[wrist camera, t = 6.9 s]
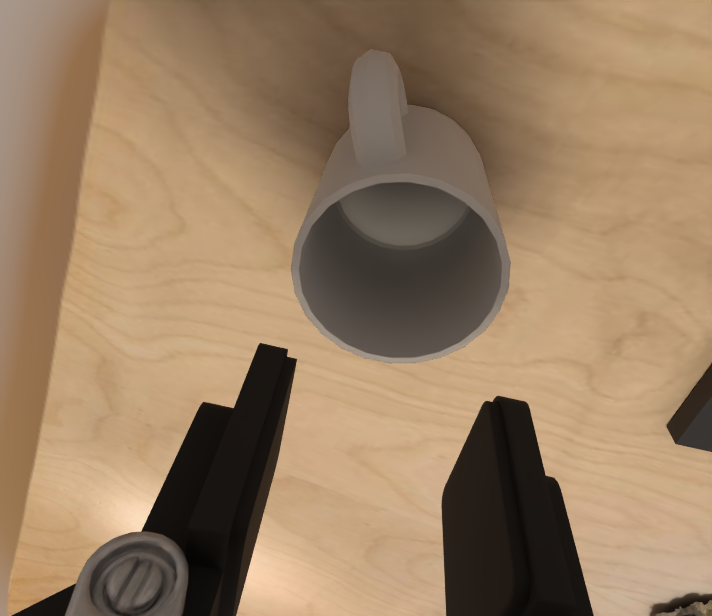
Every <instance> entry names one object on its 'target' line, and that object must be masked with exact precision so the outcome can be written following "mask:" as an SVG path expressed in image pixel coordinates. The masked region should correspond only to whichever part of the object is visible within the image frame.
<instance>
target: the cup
mask: <svg viewBox="0 0 712 616" xmlns="http://www.w3.org/2000/svg"><path fill="white" fill-rule="evenodd" d="M348 112H349V122H350V128H349V129H348V130H347V131H346V132H345V134H344V135H343V136H342V137H341V138H340V139H339V141H338V142H337V144H336V145H335V147H334V149H333V151H332V154H331V156H330V158H329V160H328V162H327V164H326V167H325V169H324V172H323V174H322V177H321V179H320V182H319V184H318V187H317V189H316V192H315V194H314V197H313V199H312V202H311V204H310V207H309V209H308V211H307V214H306V216H305V219H304V221H303V224H302V226H301V229H300V231H299V234H298V236H297V239H296V241H295V244H294V250H293V257H292V265H291V272H292V279H293V285H294V291H295V294H296V297H297V299H298V301H299V303H300V305H301V307H302V309H303V311H304V313H305V315H306V316H307V318H308V319H309V320H310V321H311V322H312V323H313V325H314V326H315V327H316V328H317V329H318V331H319V332H320V333H321V334H322V335H324V336H325V337H326V338H328V339H329V340H331V341H332V342H333V343H335V344H336V345H337V346H339V347H340V348H342V349H344V350H346V351H349V352H351V353H353V354H356V355H358V356H360V357H363V358H365V359H370V360H375V361H380V362H385V363H419V362H424V361H428V360H433V359H437V358H441V357H444V356H446V355H448V354H450V353H452V352H455V351H457V350H459V349H461V348H463V347H465V346H466V345H468V344H469V343H470V342H471V341H473V340H474V339H475V338H476V337H478V336H479V335H480V334H482V333H483V332H484V331H485V330H486V328H487V327H488V326H489V325H490V323H491V322H492V321H493V319H494V318H495V317H496V315H497V314H498V313H499V311H500V309H501V306H502V304H503V301H504V299H505V296H506V294H507V291H508V288H509V277H510V264H511V262H510V258H509V254H508V250H507V246H506V242H505V238H504V234H503V231H502V227H501V224H500V221H499V217H498V214H497V210H496V207H495V204H494V200H493V197H492V193H491V190H490V186H489V183H488V180H487V176H486V173H485V169H484V166H483V163H482V159H481V156H480V154H479V152H478V151H477V149H476V147H475V145H474V144H473V142H472V140H471V138H470V137H469V135H468V134H467V133H466V132H465V131H464V130H463V129H462V128H461V127H460V126H459V125H458V124H457V123H456V122H455V121H454V120H453V119H451V118H449V117H447V116H445V115H444V114H442V113H440V112H438V111H436V110H434V109H430V108H425V107H421V106H416V105H407V99H406V94H405V88H404V83H403V79H402V74H401V72H400V69H399V67H398V66H397V64H396V62H395V61H394V59H393V57H392V56H391V54H390V53H387V52H382V51H378V50H373V49H370V50H368V51H367V52H366V53H364V54H363V55H362V56H360V57H359V58H358V59H356V60H355V62H354V64H353V67H352V73H351V79H350V86H349V93H348Z"/></svg>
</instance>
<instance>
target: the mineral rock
mask: <svg viewBox="0 0 712 616" xmlns="http://www.w3.org/2000/svg"><path fill="white" fill-rule="evenodd" d="M679 608H680V609H675V612H671V613H665V612H662V613H659V614H656V616H712V600H710V601H708V603H707V604H706V605H704V603H702V602H699V603H698V602H695V603H693V604H691V605H690V607H689V606H688V607H687V608H684V609H683V608H681V607H679Z"/></svg>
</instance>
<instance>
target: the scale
mask: <svg viewBox="0 0 712 616" xmlns="http://www.w3.org/2000/svg"><path fill="white" fill-rule="evenodd" d="M667 428H668V430H669V432H670V434H671V436H672V438H673V440H674V442H675V444H678V445H683V446H687V447H692V448H696V449H701V450H706V451H710V452H712V365H711V367H710V368H709V369H708V371H707V372H706V373H705V375H704V376H703V377H702V379H701V380H700V382H699V383H698V384H697V386H696V387H695V388H694V390H693V391H692V392H691V394H690V395H689V396H688V398H687V399H686V401H685V402H684V403H683V405H682V406H681V407H680V409H679V410H678V411H677V413H676V414H675V416H674V417H673V418H672V420H671V421H670V422H669V424H668V425H667Z"/></svg>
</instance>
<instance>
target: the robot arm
mask: <svg viewBox="0 0 712 616" xmlns="http://www.w3.org/2000/svg"><path fill="white" fill-rule="evenodd" d="M287 353H288V349H285V348H280V347H276V346H271V345H267V344H262V343H260V344H259V346H258V348H257V350H256V353H255V355H254V358H253V360H252V363H251V366H250V368H249V371H248V373H247V376H246V378H245V381H244V383H243V386H242V389H241V391H240V394H239V396H238V399H237V401H236V404H235V407H234V408H230V407H225V406H221V405H216V404H211V403H207V402H203V403H202V404H201V406H200V407H199V409H198V411H197V413H196V415H195V417H194V420H193V422H192V424H191V426H190V428H189V430H188V433H187V435H186V437H185V439H184V441H183V443H182V445H181V448H180V450H179V452H178V454H177V456H176V458H175V460H174V463H173V465H172V467H171V469H170V471H169V473H168V475H167V478H166V480H165V482H164V484H163V486H162V488H161V490H160V493H159V495H158V497H157V499H156V501H155V503H154V506H153V508H152V510H151V512H150V514H149V516H148V518H147V521H146V523H145V525H144V527H143V529H142V531H141V532H131V533H128V534H125V535H122V536H119V537H116V538H114V539H112V540H110V541H109V542H107V543H106V544H104V545H102V546H101V547H99V548H98V549H97V551H96V552H95V553H94V554H93V555H92V556H91V557H90V558H89V559H88V560H87V562H86V564H85V565H84V567H83V569H82V571H81V573H80V575H79V577H78V580H77V583H76V584H74V585H72V586H70V587H68V588H66V589H64V590H62V591H60V592H58V593H56V594H54V595H52V596H50V597H48V598H46V599H44V600H42V601H40V602H38V603H36V604H34V605H32V606H30V607H28V608H26V609H24V610H22V611H20V612H18V613H16V614H14V615H12V616H236V614H237V610H238V606H239V603H240V599H241V595H242V591H243V588H244V584H245V580H246V576H247V573H248V569H249V565H250V562H251V558H252V554H253V550H254V547H255V543H256V539H257V535H258V532H259V528H260V524H261V521H262V517H263V513H264V509H265V506H266V502H267V498H268V494H269V491H270V487H271V483H272V479H273V476H274V472H275V468H276V464H277V460H278V456H279V451H280V446H281V440H282V435H283V430H284V425H285V419H286V414H287V409H288V404H289V399H290V393H291V388H292V383H293V378H294V372H295V367H296V362H297V359H295V358H290V357H287ZM442 525H443V548H444V572H445V595H446V616H594V615H593V612H592V608H591V604H590V600H589V596H588V592H587V589H586V585H585V581H584V577H583V573H582V569H581V565H580V562H579V558H578V554H577V550H576V546H575V542H574V539H573V535H572V531H571V527H570V523H569V519H568V516H567V512H566V508H565V504H564V500H563V496H562V492H561V489H560V486H559V484H558V482H557V481H556V480H555V478H553V477H549V476H545V471H544V467H543V463H542V459H541V455H540V450H539V446H538V442H537V438H536V434H535V429H534V425H533V421H532V417H531V413H530V408H529V406H528V404H527V403H526V402H524V401H520V400H515V399H511V398H506V397H502V396H497V397H496V398H495V399H494V400H493V402H490V401H485V402H484V403H483V405H482V407H481V409H480V411H479V414H478V416H477V418H476V420H475V422H474V424H473V427H472V429H471V431H470V433H469V435H468V438H467V440H466V442H465V444H464V446H463V448H462V451H461V453H460V455H459V457H458V459H457V461H456V464H455V466H454V468H453V470H452V472H451V475H450V477H449V479H448V481H447V483H446V485H445V488H444V491H443V496H442Z"/></svg>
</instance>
